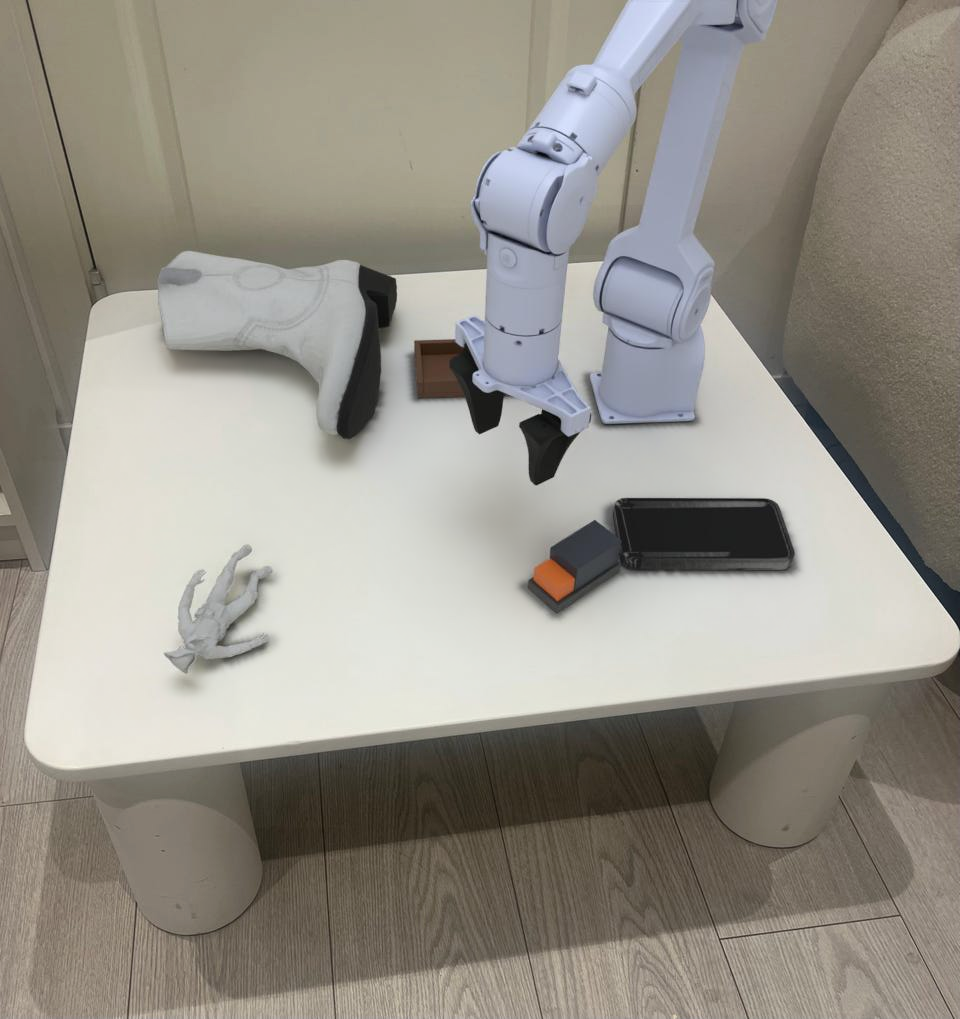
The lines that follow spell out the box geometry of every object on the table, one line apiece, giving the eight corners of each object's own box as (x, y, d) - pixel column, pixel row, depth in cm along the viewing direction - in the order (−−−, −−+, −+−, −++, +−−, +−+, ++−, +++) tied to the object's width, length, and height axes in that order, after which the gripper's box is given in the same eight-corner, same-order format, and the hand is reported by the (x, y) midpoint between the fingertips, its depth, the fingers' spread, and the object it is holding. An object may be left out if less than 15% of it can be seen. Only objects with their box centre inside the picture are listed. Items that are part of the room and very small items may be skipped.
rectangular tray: (527, 352, 109) (528, 336, 108) (536, 394, 104) (537, 377, 103) (414, 356, 108) (414, 340, 107) (417, 398, 103) (417, 381, 102)
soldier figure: (298, 594, 85) (250, 676, 75) (259, 622, 87) (207, 706, 76) (234, 527, 83) (176, 602, 73) (195, 557, 85) (132, 634, 74)
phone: (612, 497, 92) (776, 498, 92) (611, 506, 92) (773, 506, 93) (624, 561, 86) (798, 561, 87) (622, 570, 87) (795, 570, 87)
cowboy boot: (404, 242, 110) (178, 226, 111) (356, 378, 89) (78, 357, 90) (406, 319, 116) (192, 304, 117) (361, 464, 95) (100, 443, 96)
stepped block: (590, 547, 89) (595, 516, 86) (620, 571, 87) (625, 540, 84) (527, 587, 85) (530, 557, 83) (556, 613, 83) (560, 583, 81)
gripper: (423, 285, 77) (424, 423, 86) (542, 382, 69) (529, 523, 78) (497, 259, 80) (491, 395, 89) (620, 348, 72) (598, 488, 81)
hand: (513, 453), depth 84 cm, fingers open, 7 cm apart
